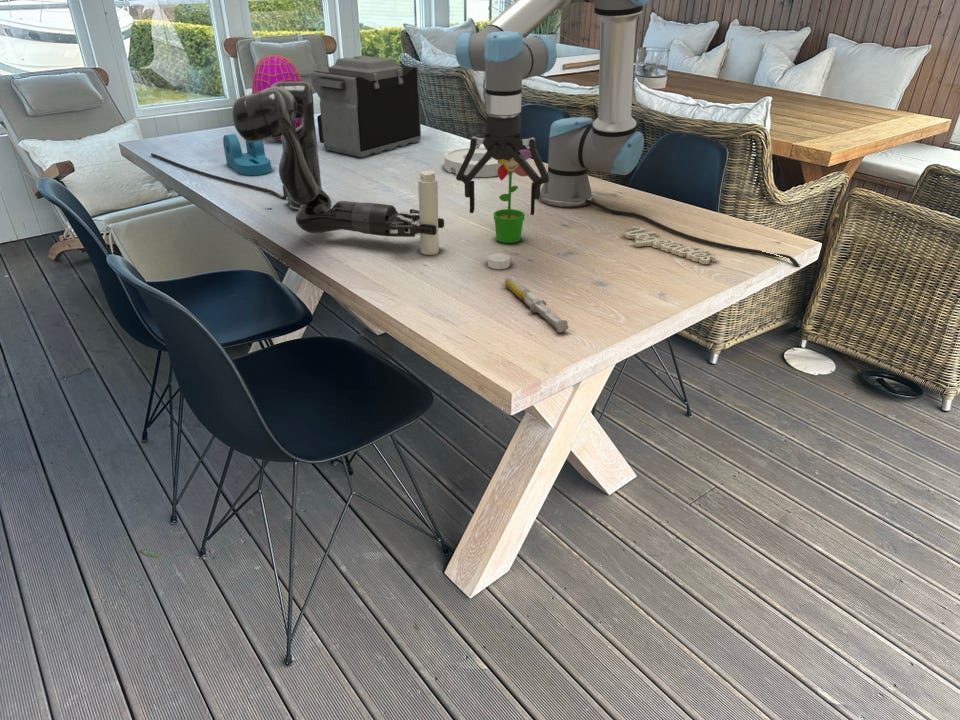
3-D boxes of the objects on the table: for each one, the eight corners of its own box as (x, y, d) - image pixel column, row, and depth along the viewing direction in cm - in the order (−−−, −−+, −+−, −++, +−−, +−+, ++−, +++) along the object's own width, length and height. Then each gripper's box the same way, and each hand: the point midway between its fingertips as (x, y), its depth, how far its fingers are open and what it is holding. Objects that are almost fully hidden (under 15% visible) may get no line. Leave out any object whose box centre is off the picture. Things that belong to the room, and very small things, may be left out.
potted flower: (500, 246, 170) (503, 143, 157) (485, 236, 176) (487, 136, 163) (533, 241, 173) (538, 139, 161) (517, 231, 179) (521, 133, 167)
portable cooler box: (383, 133, 276) (378, 52, 261) (425, 141, 265) (422, 56, 250) (314, 150, 251) (304, 61, 235) (358, 160, 240) (350, 67, 224)
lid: (513, 263, 161) (513, 255, 160) (504, 270, 157) (504, 263, 156) (493, 259, 163) (493, 251, 162) (484, 267, 159) (484, 259, 158)
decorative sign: (611, 234, 176) (635, 225, 181) (610, 237, 176) (634, 229, 182) (700, 264, 159) (723, 254, 164) (699, 268, 159) (723, 257, 165)
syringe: (500, 283, 150) (500, 272, 149) (516, 281, 152) (516, 270, 150) (551, 335, 131) (552, 322, 129) (568, 332, 132) (569, 319, 130)
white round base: (447, 158, 243) (446, 146, 241) (512, 159, 243) (512, 148, 241) (441, 176, 223) (441, 164, 221) (512, 177, 223) (513, 165, 221)
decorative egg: (293, 132, 276) (283, 50, 261) (319, 140, 264) (310, 56, 249) (249, 139, 265) (236, 54, 250) (273, 148, 253) (261, 60, 238)
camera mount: (227, 164, 233) (221, 132, 227) (257, 160, 238) (252, 129, 233) (244, 176, 220) (239, 143, 215) (276, 172, 225) (271, 139, 220)
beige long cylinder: (417, 250, 167) (414, 171, 158) (432, 247, 170) (430, 168, 160) (426, 256, 164) (424, 176, 155) (442, 252, 167) (440, 173, 157)
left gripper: (360, 213, 159) (428, 221, 155) (385, 195, 171) (449, 202, 167) (362, 243, 163) (429, 252, 159) (387, 224, 175) (450, 232, 171)
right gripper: (563, 111, 145) (558, 207, 156) (446, 109, 147) (449, 204, 159) (563, 119, 139) (557, 219, 150) (441, 117, 141) (444, 216, 152)
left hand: (439, 226), depth 163 cm, fingers closed on beige long cylinder, 4 cm apart
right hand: (502, 212), depth 154 cm, fingers open, 13 cm apart
